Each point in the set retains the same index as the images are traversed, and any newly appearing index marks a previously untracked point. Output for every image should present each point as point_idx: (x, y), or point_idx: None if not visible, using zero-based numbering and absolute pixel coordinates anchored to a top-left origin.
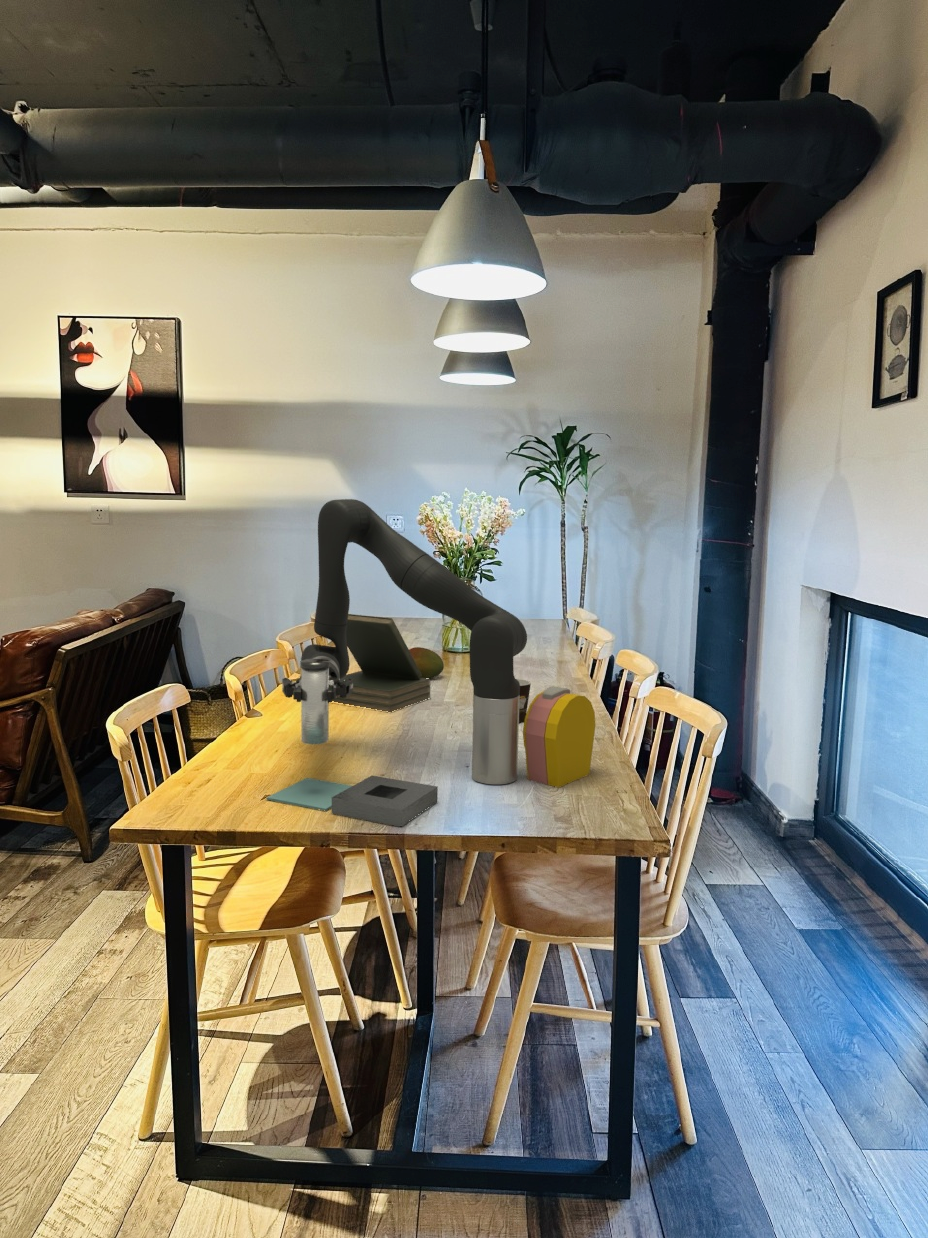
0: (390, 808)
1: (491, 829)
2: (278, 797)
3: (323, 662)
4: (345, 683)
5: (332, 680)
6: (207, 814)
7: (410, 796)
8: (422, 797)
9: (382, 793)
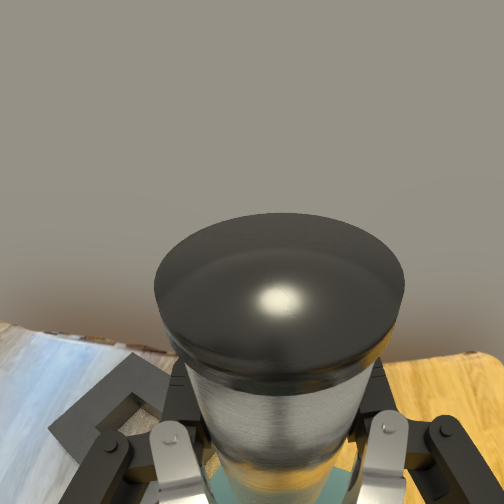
0: (144, 360)
1: (50, 348)
2: (348, 481)
3: (211, 247)
4: (93, 465)
5: (164, 494)
6: (436, 406)
7: (101, 397)
8: (85, 395)
9: None
